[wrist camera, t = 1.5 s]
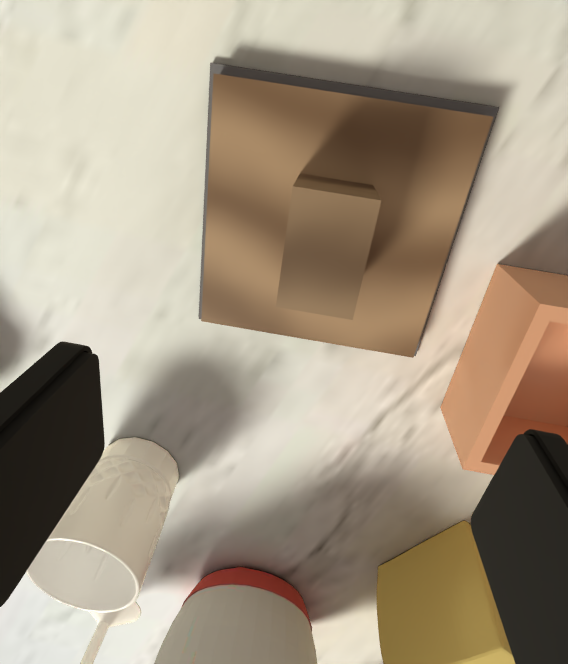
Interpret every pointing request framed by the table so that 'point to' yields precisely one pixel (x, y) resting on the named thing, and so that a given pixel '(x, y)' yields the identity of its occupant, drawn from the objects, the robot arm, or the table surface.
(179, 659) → the citrus juicer
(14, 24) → the table surface
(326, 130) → the lid
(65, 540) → the white cup
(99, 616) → the champagne flute
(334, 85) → the mat
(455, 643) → the cheese
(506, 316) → the salmon orange open box
